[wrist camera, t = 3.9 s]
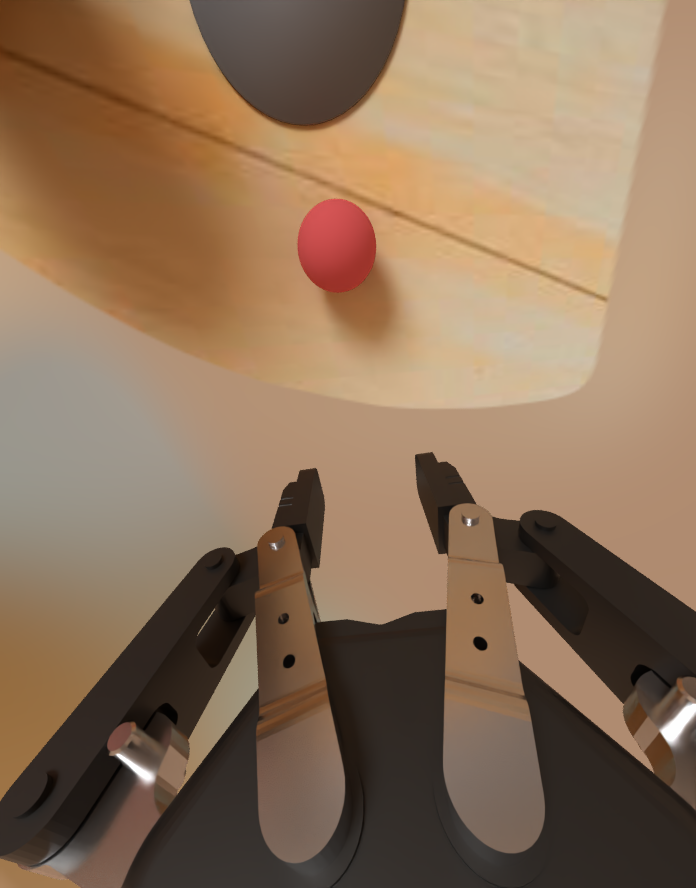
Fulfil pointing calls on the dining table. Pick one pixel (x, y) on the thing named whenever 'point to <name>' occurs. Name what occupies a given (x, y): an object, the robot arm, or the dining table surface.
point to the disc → (300, 51)
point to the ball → (336, 245)
